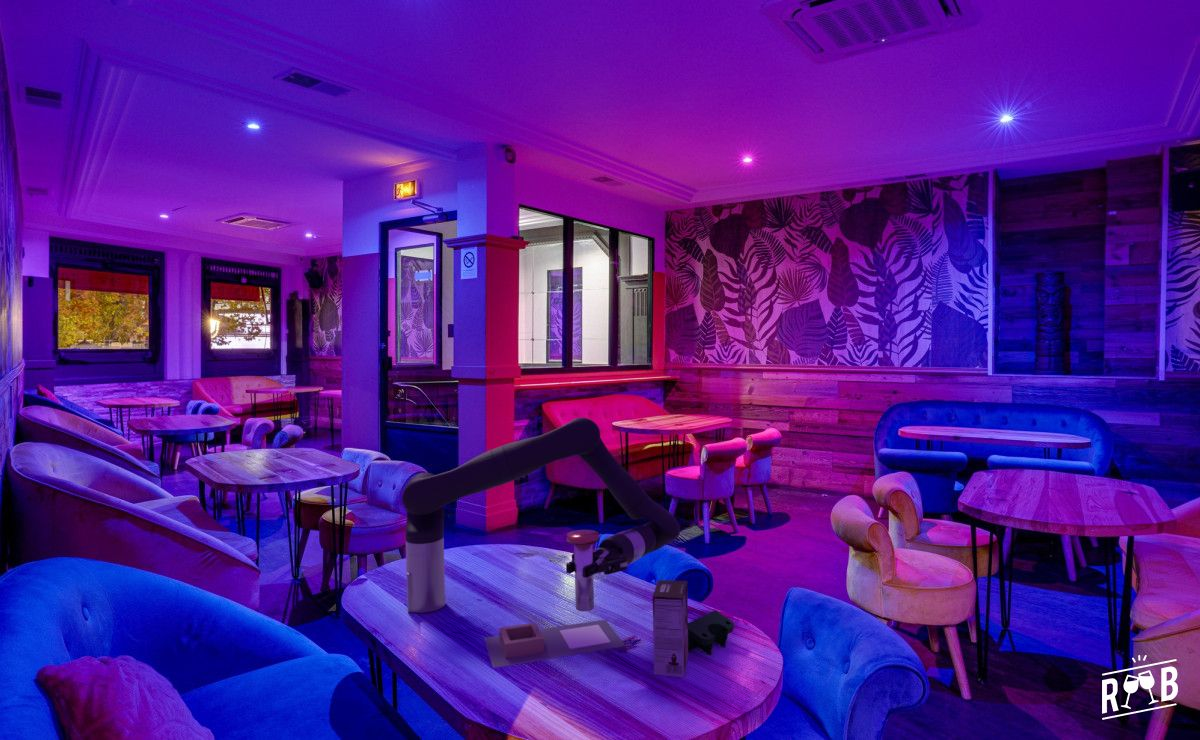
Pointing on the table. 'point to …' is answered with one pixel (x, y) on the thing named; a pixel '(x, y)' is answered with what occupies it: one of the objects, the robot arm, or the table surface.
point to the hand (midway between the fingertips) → (575, 570)
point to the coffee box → (670, 628)
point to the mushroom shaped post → (582, 559)
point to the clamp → (709, 631)
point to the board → (549, 642)
